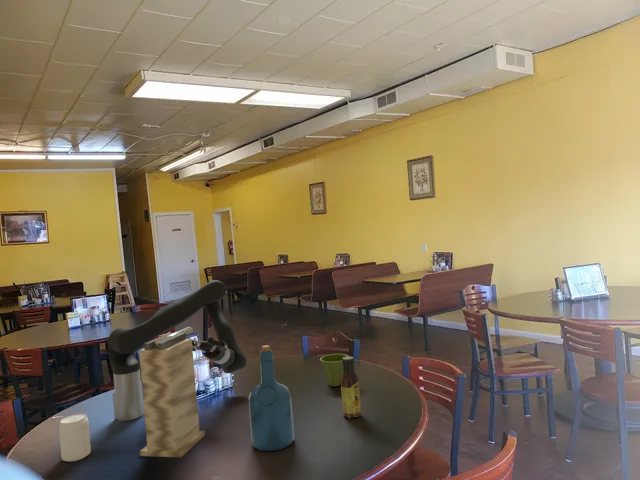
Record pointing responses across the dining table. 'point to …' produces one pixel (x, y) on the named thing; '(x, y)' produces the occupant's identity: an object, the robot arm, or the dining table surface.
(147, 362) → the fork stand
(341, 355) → the plant pot
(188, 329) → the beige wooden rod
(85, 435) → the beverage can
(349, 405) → the sauce bottle
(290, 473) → the dining table surface
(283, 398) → the wine bottle
